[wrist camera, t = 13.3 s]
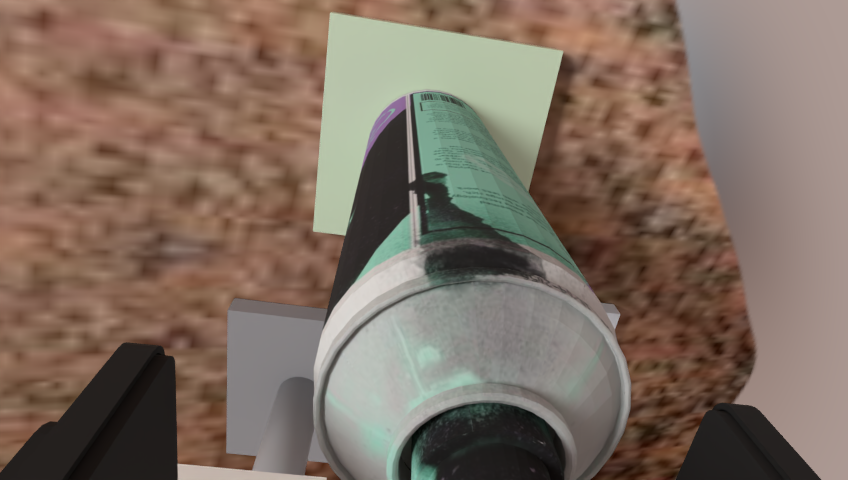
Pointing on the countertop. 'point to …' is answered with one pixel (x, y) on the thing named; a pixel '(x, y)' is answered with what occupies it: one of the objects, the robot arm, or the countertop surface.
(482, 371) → the spray can
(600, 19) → the countertop surface
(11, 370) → the countertop surface
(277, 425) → the mounted unit
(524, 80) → the green tile
